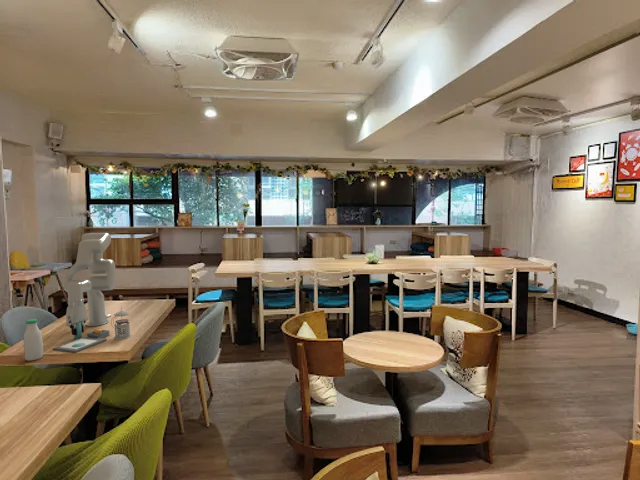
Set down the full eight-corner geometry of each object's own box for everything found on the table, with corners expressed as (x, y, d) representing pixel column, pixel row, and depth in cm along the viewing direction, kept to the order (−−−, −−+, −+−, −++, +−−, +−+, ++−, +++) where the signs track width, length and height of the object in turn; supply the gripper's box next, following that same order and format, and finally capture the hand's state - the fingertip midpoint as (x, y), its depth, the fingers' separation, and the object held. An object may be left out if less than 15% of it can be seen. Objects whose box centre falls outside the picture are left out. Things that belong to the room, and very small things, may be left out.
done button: (98, 333, 241) (98, 328, 241) (103, 333, 240) (103, 328, 240) (93, 335, 237) (92, 330, 237) (98, 335, 236) (98, 330, 236)
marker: (78, 336, 240) (77, 317, 239) (84, 337, 238) (82, 317, 237) (72, 339, 236) (71, 318, 235) (77, 339, 234) (76, 319, 233)
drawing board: (84, 338, 237) (84, 336, 237) (106, 340, 232) (106, 338, 232) (53, 349, 218) (53, 347, 218) (76, 352, 213) (75, 350, 213)
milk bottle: (47, 356, 208) (44, 318, 206) (32, 361, 201) (29, 322, 199) (36, 354, 211) (33, 317, 209) (21, 360, 203) (18, 321, 202)
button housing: (98, 334, 244) (98, 329, 243) (109, 335, 241) (109, 330, 241) (87, 338, 236) (87, 333, 236) (98, 339, 234) (98, 334, 233)
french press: (124, 340, 233) (122, 297, 231) (106, 338, 235) (104, 296, 233) (135, 334, 242) (133, 293, 240) (118, 333, 244) (116, 293, 242)
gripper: (83, 299, 244) (85, 329, 246) (57, 306, 228) (60, 337, 230) (93, 300, 242) (94, 330, 243) (68, 307, 226) (70, 338, 228)
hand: (77, 333), depth 237 cm, fingers closed on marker, 3 cm apart
